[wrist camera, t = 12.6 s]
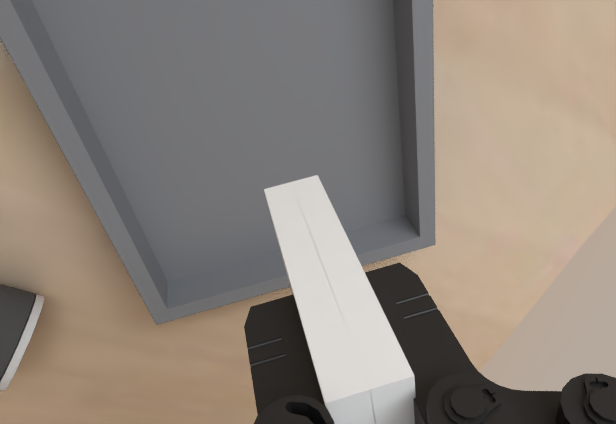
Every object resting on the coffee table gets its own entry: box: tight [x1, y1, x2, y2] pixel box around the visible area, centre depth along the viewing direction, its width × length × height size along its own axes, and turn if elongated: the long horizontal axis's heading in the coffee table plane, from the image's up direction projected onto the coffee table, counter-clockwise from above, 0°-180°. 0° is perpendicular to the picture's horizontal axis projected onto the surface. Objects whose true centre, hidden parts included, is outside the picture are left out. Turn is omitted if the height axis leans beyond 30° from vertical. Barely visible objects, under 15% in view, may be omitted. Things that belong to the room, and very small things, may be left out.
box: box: [0, 0, 435, 325], centre depth 23 cm, size 26×18×3 cm
